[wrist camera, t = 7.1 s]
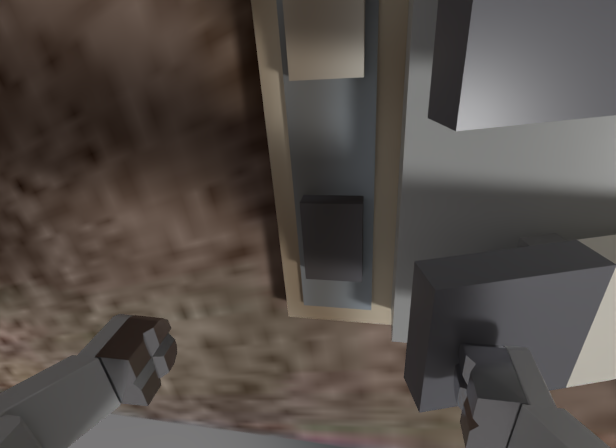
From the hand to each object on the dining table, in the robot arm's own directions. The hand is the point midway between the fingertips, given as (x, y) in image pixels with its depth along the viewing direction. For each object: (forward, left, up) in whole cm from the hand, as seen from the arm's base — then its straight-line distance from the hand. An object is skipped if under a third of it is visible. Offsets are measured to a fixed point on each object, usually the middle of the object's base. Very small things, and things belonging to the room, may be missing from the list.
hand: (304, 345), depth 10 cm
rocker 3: (-7, 0, -4) cm, 8 cm away
